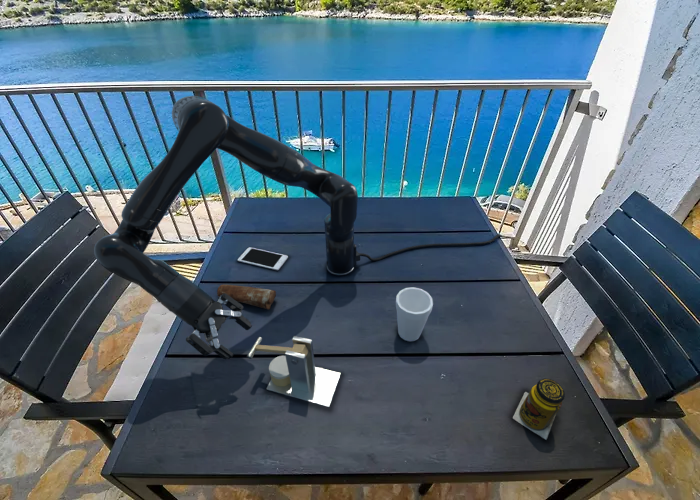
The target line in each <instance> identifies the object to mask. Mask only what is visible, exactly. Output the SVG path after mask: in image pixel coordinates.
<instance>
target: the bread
mask: <svg viewBox="0 0 700 500" xmlns="http://www.w3.org/2000/svg"><path fill="white" fill-rule="evenodd" d="M224 293H226V294H227V295H229V296H230V297H231V298H233V299H234V300H236V301H237V302H238V303H241V304H247V305H250V306H253V307H257V308H261V309H265V310H270V309H271V305H273V303H274V301H275V300H276V299H275V298H276V296H277V290H274V289H268V288H261V287H253V286H245V285H234V284H223V283H222V284H220V285H219V286H217V290H216V295H217V297H218V298H219V297H220V296H221V295H222V294H224Z"/></svg>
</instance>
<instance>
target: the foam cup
mask: <svg viewBox="0 0 700 500" xmlns="http://www.w3.org/2000/svg"><path fill="white" fill-rule="evenodd" d="M395 297H396V298H395V309H396V321H397V333H398V335H399V337H400V338H401V339H402V340H404V341H407V342H415V341H417V340H419V338H420V337H421V335H422V333H423V331H424V328H425V326H426V323H427V322H428V319H429V316H430V314H431V313H432V311H433V307H434V306H433V305H434V299H433V297H432V296H431V295H430V293H429V292H428V291H426V290H424V289H422V288H419V287H415V286H413V287H405V288H403V289H401V290H399V292H398V293H397V294H396V296H395Z"/></svg>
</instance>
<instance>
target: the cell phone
mask: <svg viewBox="0 0 700 500" xmlns="http://www.w3.org/2000/svg"><path fill="white" fill-rule="evenodd" d="M288 259H289V256H288V255H287V254H282V253H276V252H274V251H268V250H265V249H260V248H255V247H251V246H250V247H248V248H246V249H245V250H244V252H243V253H242V254H241V255H240V256H239V257H238V258H237V262H240V263H244V264H248V265H253V266H257V267H261V268H265V269H270V270H273V271H279V270H280V269H281V268H282V267H283V265H284V264H285V262H286V261H287V260H288Z"/></svg>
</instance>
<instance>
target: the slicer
mask: <svg viewBox="0 0 700 500" xmlns="http://www.w3.org/2000/svg"><path fill="white" fill-rule="evenodd" d="M291 341H292V345H293V346H294V344H302V345H305V346H306V348H307V350H308V353H307V356H306V355H304V354H300V353H296V352H292V351H288V350H287V351H286V353H285V354H284V356H286V361H287V366H288V371H289V376H290V381H291V383H290V384H289V385H287V386H277V385H275V384H274V383H273V382H272V379H271V378H270V381H269V382H268V384H267V387H266V390H268V391H271V392H274V393H278V394H282V395H285V396H289V397H292V398H296V399H300V400H303V401H305V402H309V403H314V404H317V405H321V406H324V407H328V408H329V407H330V405H331V403H332V400H333V397H334V394H335V391H336V388H337V385H338V382H339V379H340V377H341V372H338V371H334V370H329V369H325V368H323V367H318V366H316V362H315V354H314V345H313V340H312V339H310V338H306V337H301V336H297V335H293V337H292V340H291ZM293 346H292V347H293Z"/></svg>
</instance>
